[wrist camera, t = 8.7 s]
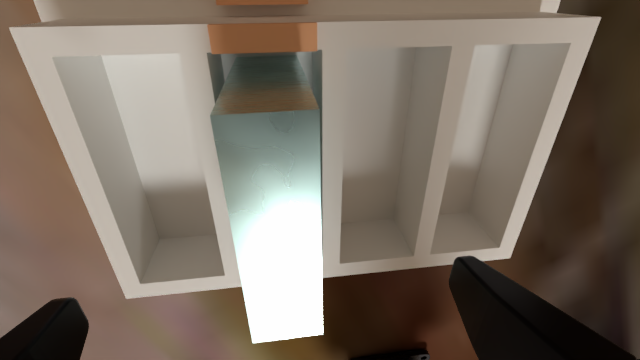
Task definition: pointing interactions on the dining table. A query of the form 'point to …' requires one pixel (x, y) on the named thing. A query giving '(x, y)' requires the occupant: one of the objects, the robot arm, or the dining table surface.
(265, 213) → the metal block
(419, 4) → the rack
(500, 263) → the dining table surface
